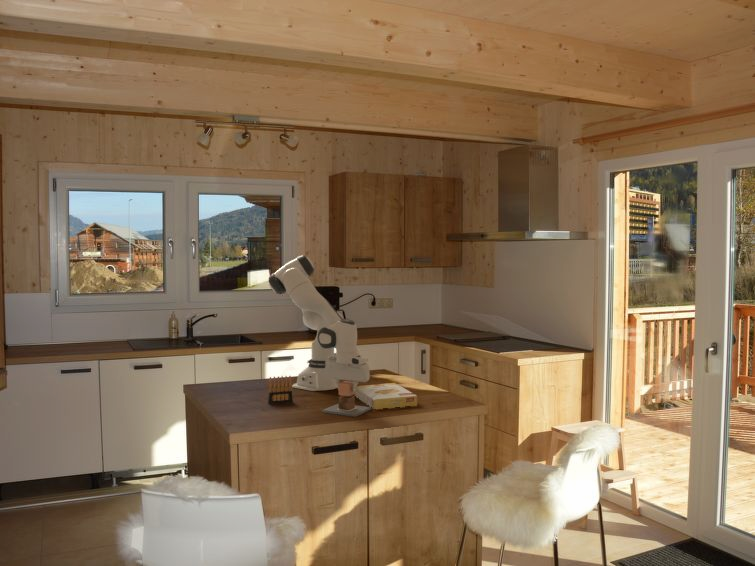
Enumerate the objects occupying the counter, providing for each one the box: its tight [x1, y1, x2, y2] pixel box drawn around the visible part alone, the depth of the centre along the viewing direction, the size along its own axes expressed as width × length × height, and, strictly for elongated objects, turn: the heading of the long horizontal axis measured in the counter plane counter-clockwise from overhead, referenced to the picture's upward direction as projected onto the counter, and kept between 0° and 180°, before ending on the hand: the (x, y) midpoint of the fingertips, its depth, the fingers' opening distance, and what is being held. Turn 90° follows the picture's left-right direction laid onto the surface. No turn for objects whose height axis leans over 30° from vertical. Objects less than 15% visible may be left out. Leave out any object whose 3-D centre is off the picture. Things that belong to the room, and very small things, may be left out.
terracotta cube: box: [338, 380, 355, 396], centre depth 286 cm, size 5×5×5 cm
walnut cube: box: [338, 395, 356, 410], centre depth 287 cm, size 5×5×5 cm
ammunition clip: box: [267, 375, 293, 405], centre depth 302 cm, size 11×2×12 cm, turn 111°
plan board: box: [321, 402, 372, 418], centre depth 287 cm, size 16×14×1 cm
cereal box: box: [354, 382, 418, 410], centre depth 306 cm, size 20×6×28 cm
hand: (346, 390), depth 286 cm, fingers closed on terracotta cube, 5 cm apart
